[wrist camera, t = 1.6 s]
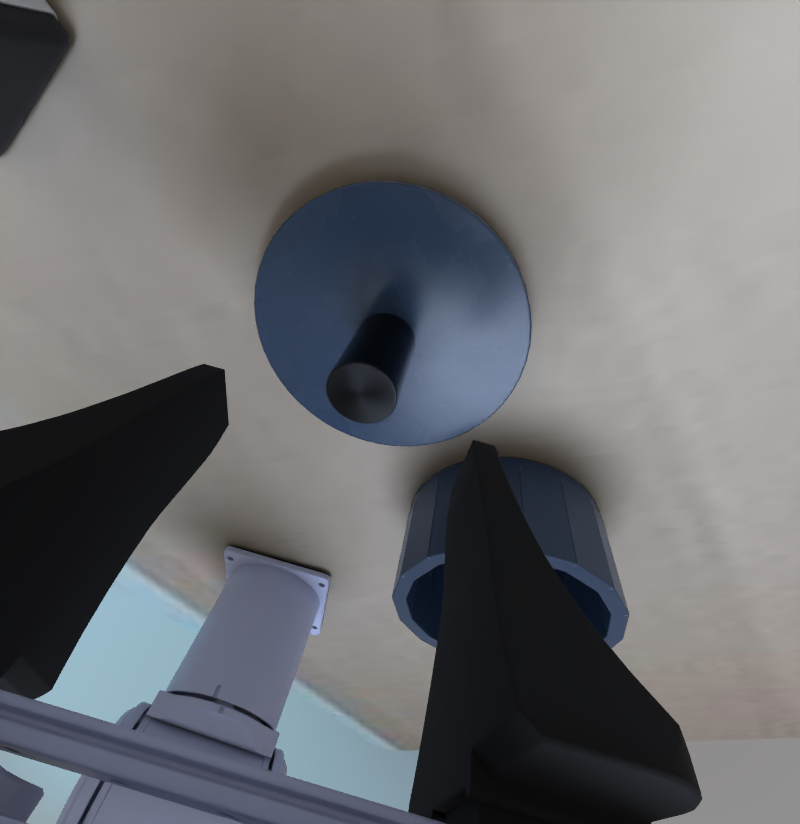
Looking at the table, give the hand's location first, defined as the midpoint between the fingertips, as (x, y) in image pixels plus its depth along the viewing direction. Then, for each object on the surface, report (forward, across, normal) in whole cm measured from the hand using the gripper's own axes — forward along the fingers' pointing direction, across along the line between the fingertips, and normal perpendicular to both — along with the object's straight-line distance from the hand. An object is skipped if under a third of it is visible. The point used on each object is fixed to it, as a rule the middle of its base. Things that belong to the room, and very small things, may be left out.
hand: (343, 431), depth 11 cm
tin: (+7, -8, +10) cm, 15 cm away
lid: (+6, 0, 0) cm, 6 cm away
